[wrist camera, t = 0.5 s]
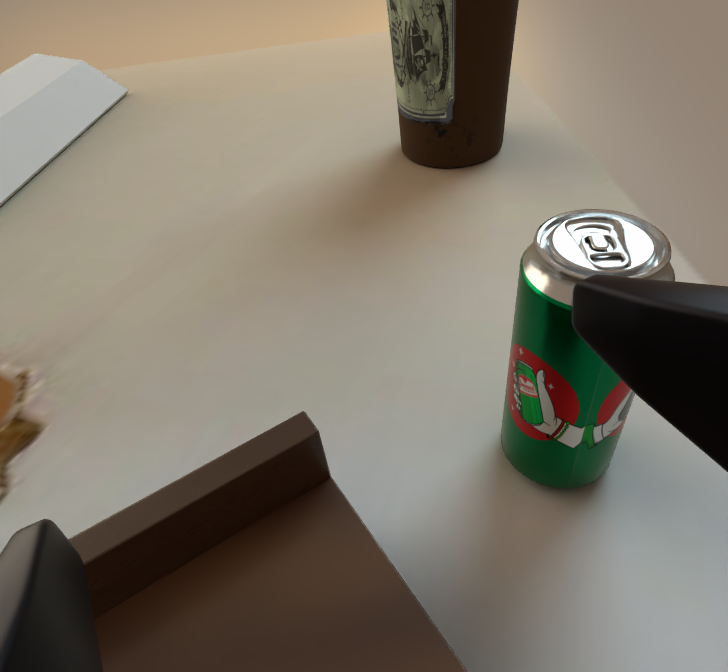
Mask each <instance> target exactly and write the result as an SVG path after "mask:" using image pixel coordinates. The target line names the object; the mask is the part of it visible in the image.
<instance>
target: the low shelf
mask: <svg viewBox="0 0 728 672" xmlns="http://www.w3.org/2000/svg"><path fill="white" fill-rule="evenodd" d="M68 540H69V542H70V543H71V544H72V545H73V547H74V548H75V549H76V550H77V552H78V553H79V555H80V557H81V559H82V561H83V564H84V568H85V573H86V578H87V584H88V589H89V594H90V600H91V605H92V611H93V616H94V622H95V627H96V632H97V638H98V643H99V649H100V654H101V661H102V667H103V672H467V670H466V669H465V668H464V666H463V665H462V663H461V662H460V660H459V659H458V658H457V656H456V655H455V653H454V652H453V650H452V649H451V648H450V646H449V645H448V643H447V642H446V640H445V639H444V638H443V636H442V635H441V633H440V632H439V630H438V629H437V627H436V626H435V625H434V623H433V622H432V620H431V619H430V617H429V616H428V615H427V613H426V612H425V610H424V609H423V607H422V606H421V605H420V603H419V602H418V600H417V599H416V597H415V596H414V595H413V593H412V592H411V590H410V589H409V587H408V586H407V585H406V583H405V582H404V580H403V579H402V577H401V576H400V575H399V573H398V572H397V570H396V569H395V567H394V566H393V564H392V563H391V562H390V560H389V559H388V557H387V556H386V554H385V553H384V552H383V550H382V549H381V547H380V546H379V544H378V543H377V542H376V540H375V539H374V537H373V536H372V534H371V533H370V532H369V530H368V529H367V527H366V526H365V524H364V523H363V522H362V520H361V519H360V517H359V516H358V514H357V513H356V512H355V510H354V509H353V507H352V506H351V504H350V503H349V502H348V500H347V499H346V497H345V496H344V494H343V493H342V491H341V490H340V489H339V487H338V486H337V484H336V483H335V481H334V480H333V479H332V477H331V475H330V471H329V467H328V464H327V460H326V456H325V452H324V449H323V445H322V441H321V438H320V434H319V431H318V429H317V428H316V426H315V425H314V424H313V422H312V421H311V420H310V418H309V417H308V416H307V414H306V413H305V412H304V411H303V412H301V413H299V414H297V415H295V416H293V417H292V418H290V419H288V420H286V421H284V422H282V423H281V424H279V425H277V426H275V427H273V428H271V429H270V430H268V431H266V432H264V433H262V434H260V435H259V436H257V437H255V438H253V439H251V440H249V441H248V442H246V443H244V444H242V445H240V446H238V447H237V448H235V449H233V450H231V451H229V452H227V453H226V454H224V455H222V456H220V457H218V458H216V459H215V460H213V461H211V462H209V463H207V464H205V465H204V466H202V467H200V468H198V469H196V470H194V471H193V472H191V473H189V474H187V475H185V476H183V477H182V478H180V479H178V480H176V481H174V482H172V483H171V484H169V485H167V486H165V487H163V488H161V489H160V490H158V491H156V492H154V493H152V494H150V495H149V496H147V497H145V498H143V499H141V500H139V501H138V502H136V503H134V504H132V505H130V506H128V507H127V508H125V509H123V510H121V511H119V512H118V513H116V514H114V515H112V516H110V517H108V518H107V519H105V520H103V521H101V522H99V523H97V524H96V525H94V526H92V527H90V528H88V529H86V530H85V531H83V532H81V533H79V534H77V535H75V536H74V537H72V538H70V539H68Z"/></svg>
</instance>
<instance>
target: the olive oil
mask: <svg viewBox="0 0 728 672" xmlns="http://www.w3.org/2000/svg"><path fill="white" fill-rule="evenodd" d="M518 1H519V0H386V2H387V11H388V19H389V27H390V37H391V46H392V55H393V65H394V74H395V83H396V93H397V103H398V112H399V123H400V135H401V145H402V150H403V153H404V154H405V155H406V156H407V157H408V158H409V159H410V160H412V161H414V162H416V163H419V164H422V165H425V166H430V167H439V168H454V167H463V166H469V165H473V164H477V163H480V162H482V161H485V160H487V159H489V158H491V157H492V156H494V155H495V154H496V153H497V152H498V151H499V150H500V148H501V146H502V142H503V134H504V124H505V114H506V104H507V94H508V84H509V76H510V67H511V58H512V50H513V42H514V33H515V25H516V17H517V9H518Z"/></svg>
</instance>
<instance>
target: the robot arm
mask: <svg viewBox="0 0 728 672" xmlns="http://www.w3.org/2000/svg"><path fill="white" fill-rule="evenodd" d="M572 325H573V327H574V330H575V331H576V333H577V334H578V335H579V336H580V337H581V338H582V339H583V340H584V342H585V343H586V344H587V345H588V346H589V347H590V348H591V349H592V350H593V351H594V352H595V353H596V354H597V355H598V356H599V357H600V358H601V359H602V360H603V361H604V362H605V363H606V364H607V365H608V366H609V367H610V368H611V369H612V371H613V372H614V373H615V374H616V375H617V376H618V377H619V378H620V379H621V380H622V381H623V382H624V383H625V384H626V385H627V386H628V387H629V388H630V389H631V390H632V391H633V392H634V393H636V394H637V395H638V396H639V397H640V398H641V399H642V400H643V401H645V402H646V403H647V404H648V405H649V406H650V407H652V408H653V409H654V410H655V411H656V412H658V413H659V414H660V415H661V416H662V417H663V418H665V419H666V420H667V421H668V422H669V423H670V424H672V425H673V426H674V427H675V428H676V429H678V430H679V431H680V432H681V433H682V434H683V435H685V436H686V437H687V438H688V439H689V440H690V441H692V442H693V443H694V444H695V445H696V446H698V447H699V448H700V449H701V450H702V451H703V452H705V453H706V454H707V455H708V456H709V457H710V458H712V459H713V460H714V461H715V462H716V463H717V464H719V465H720V466H721V467H722V468H723V469H725V470H726V471H727V472H728V287H725V286H716V285H706V284H695V283H685V282H674V281H663V280H653V279H642V278H632V277H621V276H611V275H600V274H596V275H592V276H590V277H587V278H585V279H583V280H581V281H579V282H577V283H576V284H575V286H574V288H573V301H572ZM0 672H103V667H102V661H101V654H100V649H99V643H98V638H97V632H96V627H95V622H94V616H93V611H92V605H91V600H90V594H89V589H88V584H87V578H86V573H85V568H84V564H83V561H82V559H81V557H80V555H79V553H78V552H77V550H76V549H75V548H74V547H73V545H72V544H71V543H70V542H69V540H68V539H67V538H66V537H65V535H64V534H63V533H62V532H61V530H60V529H59V528H58V527H57V525H56V524H55V523H54V522H52V521H51V520H48V519H43V520H40V521H38V522H36V523H34V524H31V525H29V526H27V527H25V528H22V529H20V530H19V531H17V532H16V533H15V534H14V535H13V536H12V537H11V539H10V540H9V542H8V543H7V545H6V546H5V548H4V549H3V551H2V552H1V554H0Z"/></svg>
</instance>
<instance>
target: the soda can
mask: <svg viewBox="0 0 728 672" xmlns="http://www.w3.org/2000/svg"><path fill="white" fill-rule="evenodd" d="M670 259H671V246H670V243H669V241H668V239H667V237H666V236H665V235H664V234H663V233H662V232H661V231H660V230H659V229H658V228H657V227H655V226H654V225H652V224H651V223H649V222H647V221H645V220H643V219H641V218H638V217H635V216H633V215H629V214H626V213H622V212H617V211H611V210H601V209H584V210H575V211H570V212H566V213H563V214H559V215H557V216H555V217H552V218H550V219H549V220H547V221H546V222H544V223H543V224H542V225H541V226H540V227H539V229H538V230H537V232H536V234H535V237H534V242H533V243H532V244H531V245H530V246H529V247H528V248H527V249H526V250H525V252H524V253H523V255H522V258H521V262H520V270H519V279H518V288H517V297H516V306H515V315H514V324H513V333H512V341H511V350H510V359H509V368H508V377H507V386H506V395H505V403H504V412H503V421H502V430H501V443H502V447H503V450H504V453H505V455H506V457H507V458H508V460H509V461H510V463H511V464H512V465H513V466H514V467H515V468H516V469H517V470H518V471H519V472H521V473H522V474H523V475H524V476H526V477H528V478H529V479H531V480H533V481H535V482H537V483H540V484H543V485H546V486H549V487H555V488H577V487H581V486H585V485H587V484H590V483H592V482H594V481H595V480H597V479H598V478H599V477H600V476H602V475H603V474H604V473H605V471H606V470H607V468H608V466H609V464H610V461H611V459H612V456H613V453H614V450H615V448H616V445H617V442H618V439H619V437H620V434H621V431H622V428H623V426H624V423H625V420H626V417H627V414H628V412H629V409H630V406H631V403H632V401H633V398H634V395H635V393H634V392H633V391H632V390H631V389H630V388H629V387H628V386H627V385H626V384H625V383H624V382H623V381H622V380H621V379H620V378H619V377H618V376H617V375H616V374H615V373H614V372H613V371H612V369H611V368H610V367H609V366H608V365H607V364H606V363H605V362H604V361H603V360H602V359H601V358H600V357H599V356H598V355H597V354H596V353H595V352H594V351H593V350H592V349H591V348H590V347H589V346H588V345H587V344H586V343H585V342H584V340H583V339H582V338H581V337H580V336H579V335H578V334H577V333H576V331H575V330H574V327H573V325H572V301H573V288H574V286H575V284H576V283H577V282H579V281H581V280H583V279H585V278H587V277H590V276H592V275H596V274H600V275H611V276H621V277H632V278H642V279H653V280H663V281H674V282H675V274H674V270H673V268H672V266H671V264H670V262H669V261H670Z"/></svg>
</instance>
